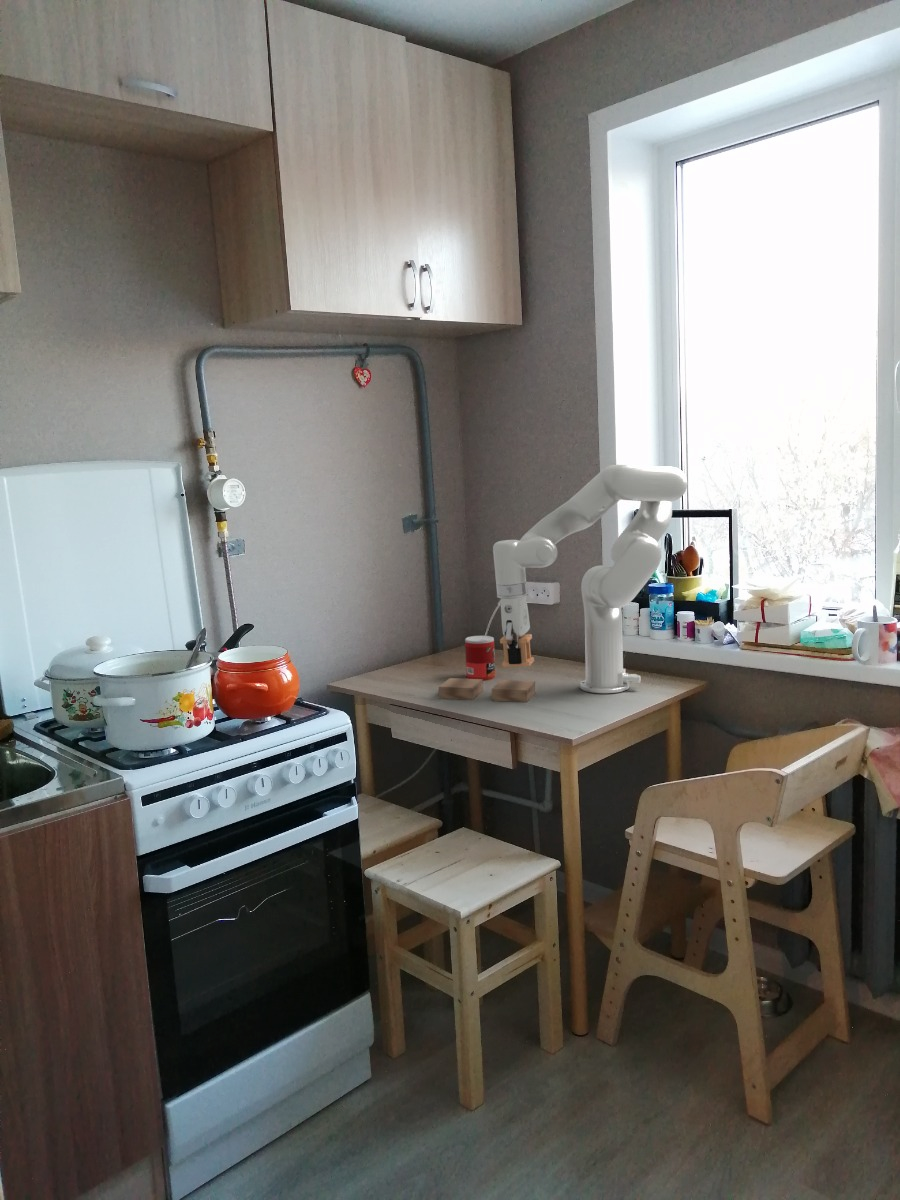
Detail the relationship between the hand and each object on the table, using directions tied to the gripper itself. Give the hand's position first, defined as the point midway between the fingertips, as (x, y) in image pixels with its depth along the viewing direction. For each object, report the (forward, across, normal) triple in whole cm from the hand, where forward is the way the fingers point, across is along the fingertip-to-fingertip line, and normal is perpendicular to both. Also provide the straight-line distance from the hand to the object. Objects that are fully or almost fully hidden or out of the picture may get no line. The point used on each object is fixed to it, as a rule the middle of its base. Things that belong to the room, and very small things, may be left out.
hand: (518, 660), depth 239 cm
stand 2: (+9, -1, +2) cm, 9 cm away
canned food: (+9, +17, +16) cm, 25 cm away
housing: (+1, 0, 0) cm, 1 cm away
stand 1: (+9, -1, +16) cm, 18 cm away
